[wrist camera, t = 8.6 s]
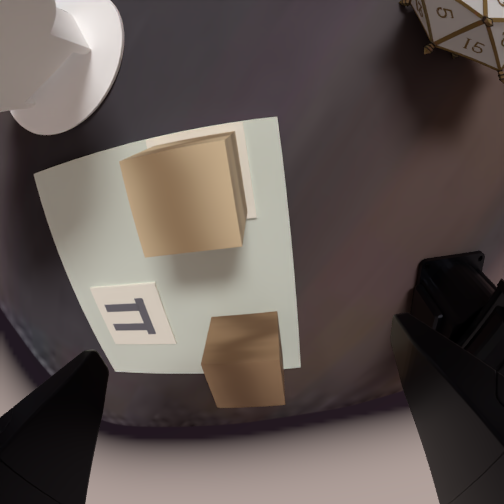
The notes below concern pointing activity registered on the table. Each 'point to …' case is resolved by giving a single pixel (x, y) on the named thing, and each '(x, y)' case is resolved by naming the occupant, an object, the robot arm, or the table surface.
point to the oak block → (187, 195)
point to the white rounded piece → (57, 60)
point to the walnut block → (244, 360)
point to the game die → (464, 29)
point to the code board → (172, 257)
